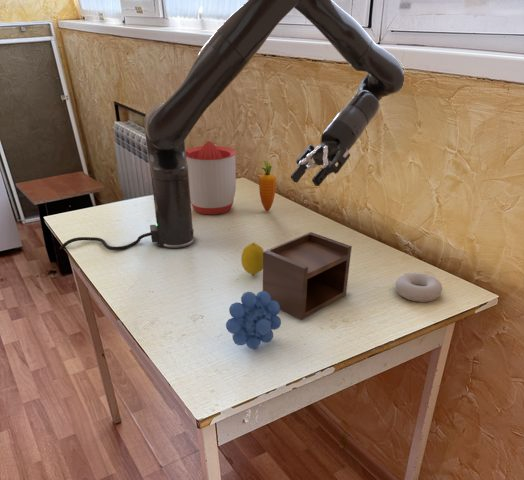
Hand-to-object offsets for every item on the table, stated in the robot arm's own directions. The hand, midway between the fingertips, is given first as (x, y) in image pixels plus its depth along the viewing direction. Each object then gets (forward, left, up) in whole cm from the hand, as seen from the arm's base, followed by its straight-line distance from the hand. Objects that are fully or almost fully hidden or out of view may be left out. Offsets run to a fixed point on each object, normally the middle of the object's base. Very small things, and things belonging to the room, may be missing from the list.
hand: (303, 181), depth 119 cm
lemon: (-15, -12, -18) cm, 26 cm away
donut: (+19, -28, -18) cm, 38 cm away
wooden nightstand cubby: (-6, -25, -17) cm, 31 cm away
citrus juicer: (-19, +36, -18) cm, 44 cm away
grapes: (-20, -42, -18) cm, 50 cm away
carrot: (-2, +30, -18) cm, 35 cm away
